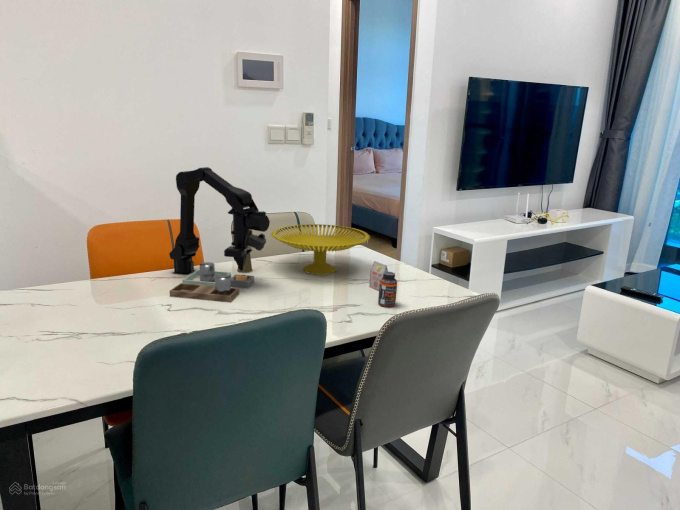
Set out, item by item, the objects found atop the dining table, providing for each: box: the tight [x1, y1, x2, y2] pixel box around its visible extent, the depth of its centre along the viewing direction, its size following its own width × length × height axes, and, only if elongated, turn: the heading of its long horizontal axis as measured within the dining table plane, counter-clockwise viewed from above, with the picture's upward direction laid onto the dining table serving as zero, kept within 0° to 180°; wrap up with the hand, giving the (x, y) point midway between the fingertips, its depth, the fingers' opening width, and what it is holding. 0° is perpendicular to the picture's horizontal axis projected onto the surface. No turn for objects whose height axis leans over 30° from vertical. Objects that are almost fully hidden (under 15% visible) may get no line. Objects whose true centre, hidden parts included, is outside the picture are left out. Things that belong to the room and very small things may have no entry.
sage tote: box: [181, 269, 232, 286], centre depth 187 cm, size 13×13×3 cm
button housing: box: [231, 273, 255, 289], centre depth 186 cm, size 7×7×4 cm
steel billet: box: [199, 262, 216, 282], centre depth 187 cm, size 5×5×7 cm
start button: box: [236, 274, 247, 281], centre depth 185 cm, size 4×4×3 cm
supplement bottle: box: [377, 271, 398, 308], centre depth 173 cm, size 6×6×11 cm
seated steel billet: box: [215, 275, 232, 296], centre depth 172 cm, size 5×5×7 cm
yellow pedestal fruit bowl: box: [270, 223, 371, 275], centre depth 210 cm, size 40×40×15 cm
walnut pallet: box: [169, 283, 240, 303], centre depth 173 cm, size 21×8×3 cm, turn 81°
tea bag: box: [368, 260, 389, 292], centre depth 189 cm, size 4×7×10 cm, turn 36°
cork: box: [236, 246, 253, 274], centre depth 203 cm, size 6×6×11 cm
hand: (241, 270), depth 184 cm, fingers closed
